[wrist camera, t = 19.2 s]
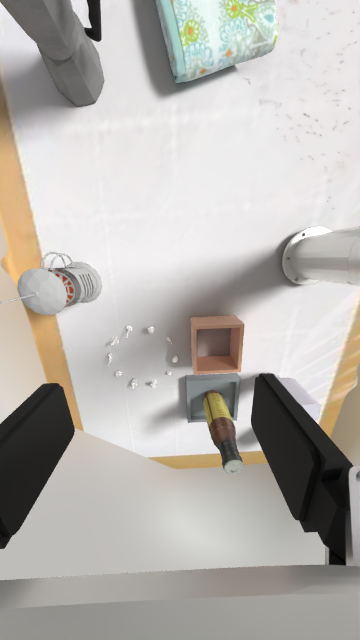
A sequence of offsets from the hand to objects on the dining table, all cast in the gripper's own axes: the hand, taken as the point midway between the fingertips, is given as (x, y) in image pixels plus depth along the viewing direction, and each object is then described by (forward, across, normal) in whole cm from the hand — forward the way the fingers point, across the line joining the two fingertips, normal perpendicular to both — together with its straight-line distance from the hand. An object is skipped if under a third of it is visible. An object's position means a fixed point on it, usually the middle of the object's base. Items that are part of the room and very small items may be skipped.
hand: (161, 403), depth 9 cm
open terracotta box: (+38, -10, +14) cm, 42 cm away
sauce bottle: (+38, -10, +33) cm, 51 cm away
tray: (+38, -10, +33) cm, 52 cm away
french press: (+38, +22, -3) cm, 44 cm away
